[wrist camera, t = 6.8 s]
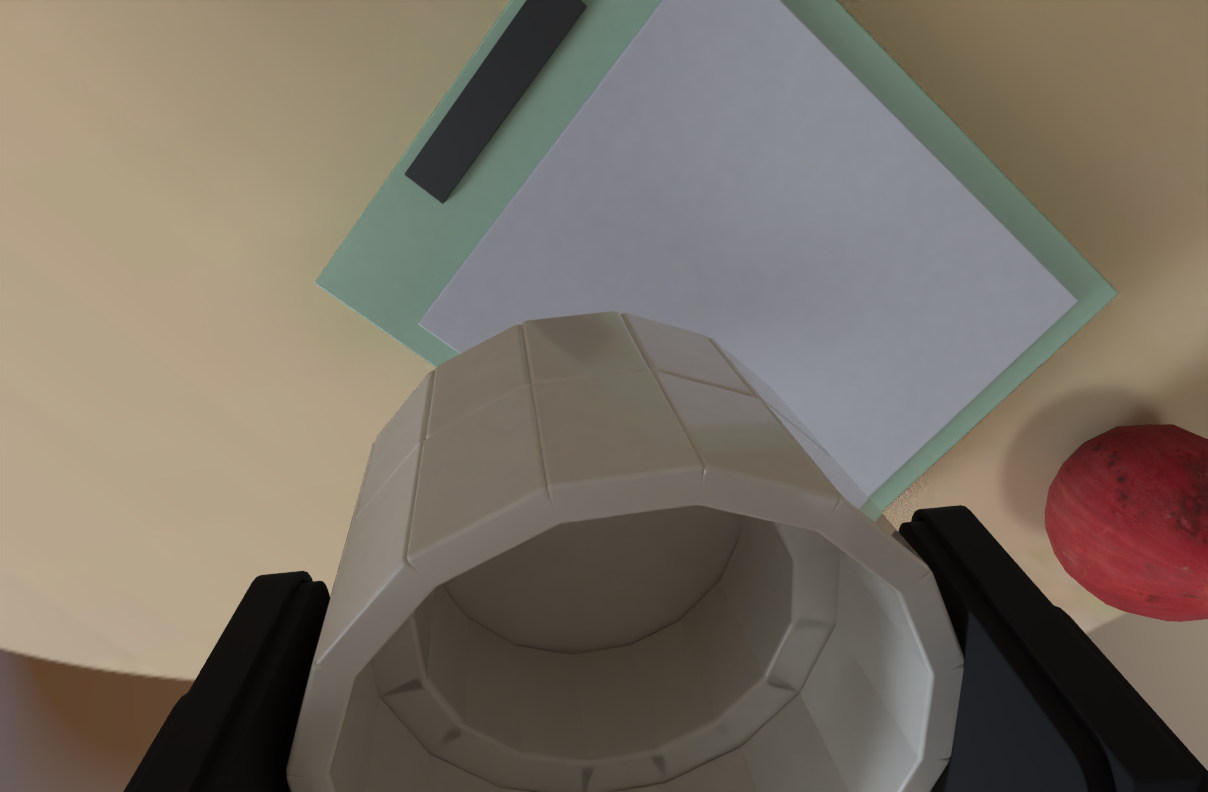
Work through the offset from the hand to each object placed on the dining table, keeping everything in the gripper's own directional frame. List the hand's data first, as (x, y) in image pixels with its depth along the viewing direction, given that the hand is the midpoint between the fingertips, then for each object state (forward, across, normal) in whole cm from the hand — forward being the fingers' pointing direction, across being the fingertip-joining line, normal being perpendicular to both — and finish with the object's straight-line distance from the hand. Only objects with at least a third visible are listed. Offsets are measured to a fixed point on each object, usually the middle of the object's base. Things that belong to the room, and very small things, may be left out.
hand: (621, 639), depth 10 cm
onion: (+16, -17, +8) cm, 24 cm away
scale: (+16, -4, 0) cm, 16 cm away
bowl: (+3, 0, 0) cm, 3 cm away
